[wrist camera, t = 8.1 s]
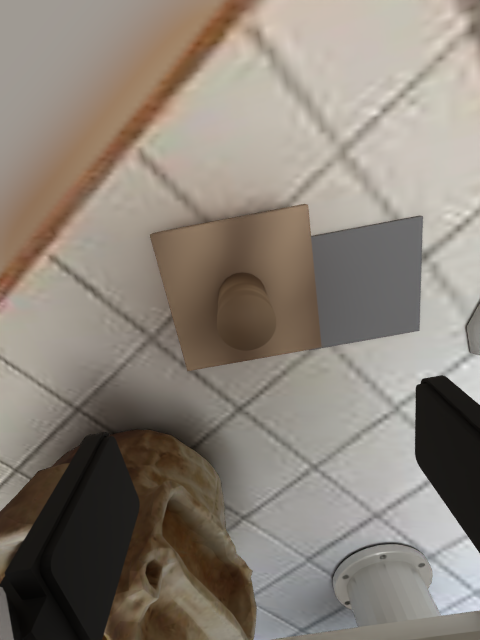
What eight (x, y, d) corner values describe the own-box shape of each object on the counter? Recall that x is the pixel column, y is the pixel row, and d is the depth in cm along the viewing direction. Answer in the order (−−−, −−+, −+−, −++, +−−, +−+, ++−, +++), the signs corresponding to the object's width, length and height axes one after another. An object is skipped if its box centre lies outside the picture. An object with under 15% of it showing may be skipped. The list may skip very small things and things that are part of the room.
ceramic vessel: (-173, 519, 25) (-780, 1398, 5) (116, 345, 37) (269, 405, 17) (10, 670, 33) (50, 1244, 13) (198, 486, 45) (367, 636, 25)
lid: (304, 204, 21) (332, 210, 16) (318, 341, 25) (344, 385, 20) (153, 232, 22) (127, 249, 16) (188, 364, 25) (178, 414, 20)
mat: (416, 329, 30) (419, 330, 30) (308, 348, 30) (308, 350, 30) (420, 215, 26) (422, 216, 26) (295, 239, 27) (296, 239, 26)
